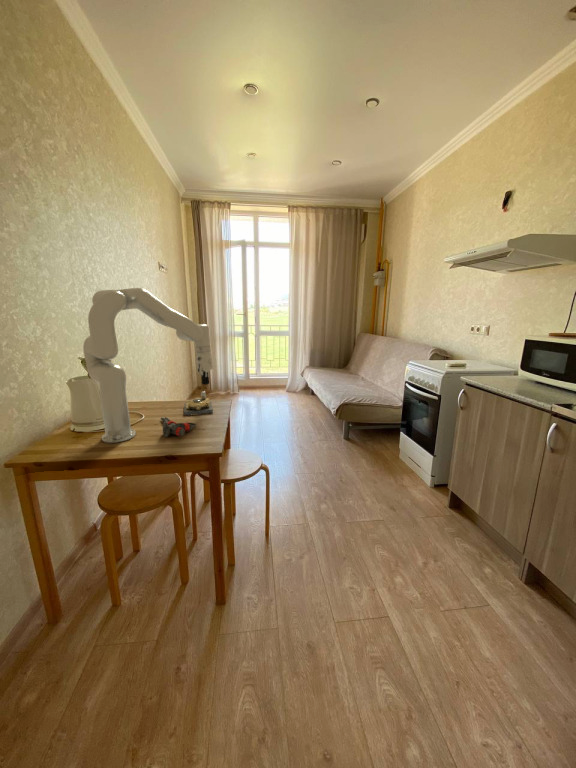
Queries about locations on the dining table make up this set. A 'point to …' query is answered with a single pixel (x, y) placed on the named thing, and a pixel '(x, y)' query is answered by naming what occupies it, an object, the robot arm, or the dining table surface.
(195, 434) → the dining table surface
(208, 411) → the base plate
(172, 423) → the grey red jointed piece
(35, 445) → the dining table surface
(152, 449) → the dining table surface
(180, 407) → the dining table surface
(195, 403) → the beige lumpy block
